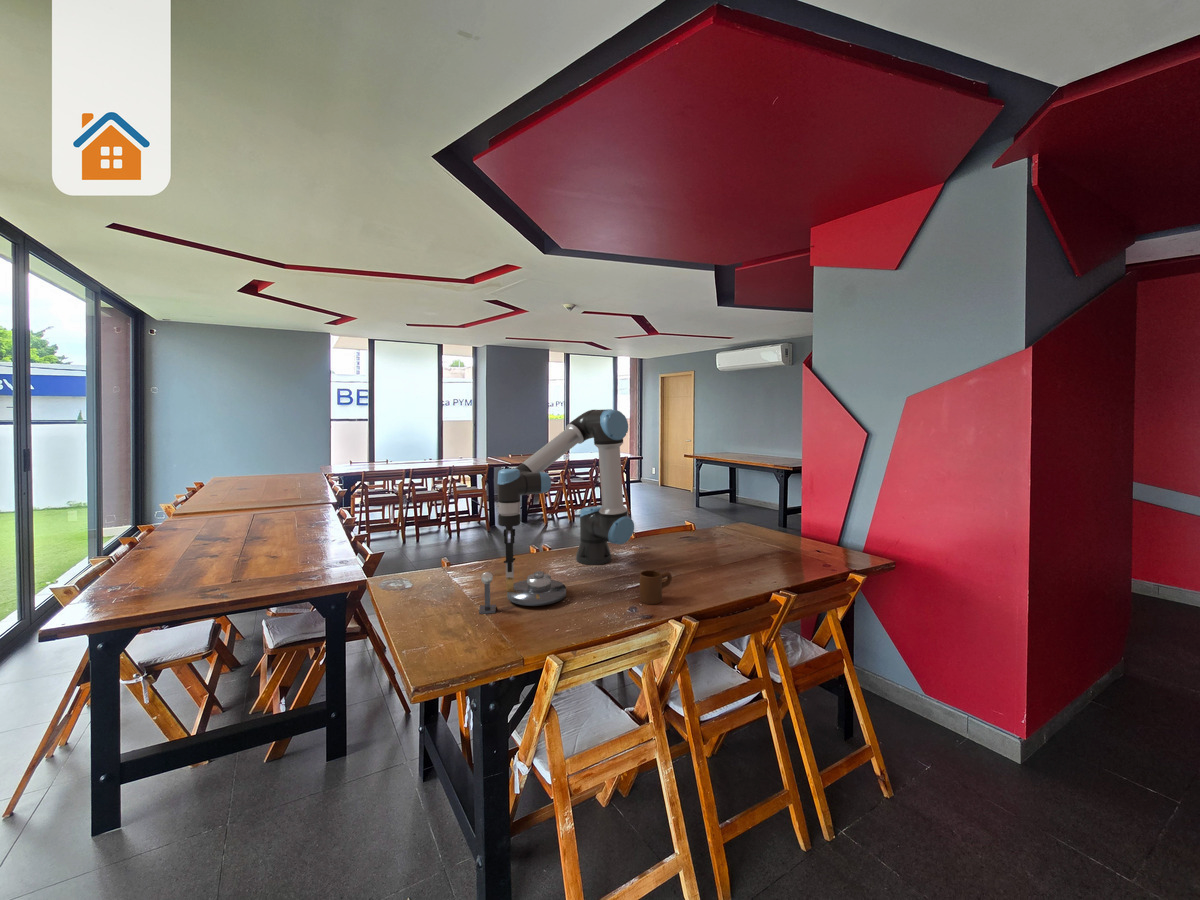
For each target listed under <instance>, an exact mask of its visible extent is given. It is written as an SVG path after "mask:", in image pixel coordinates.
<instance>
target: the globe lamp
mask: <svg viewBox="0 0 1200 900" xmlns="http://www.w3.org/2000/svg"><path fill="white" fill-rule="evenodd" d="M493 575H494V574H492V572H490V571H484V572H483V573H482V574H481V576H480V580H481V582H482V583H483V585H484V604H482V605H479V610H478V615H483V614H484V615H485V614H488V615H489V614H496V610H497V605H496V604H491V583H492V582H493V579H494V576H493Z"/></svg>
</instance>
